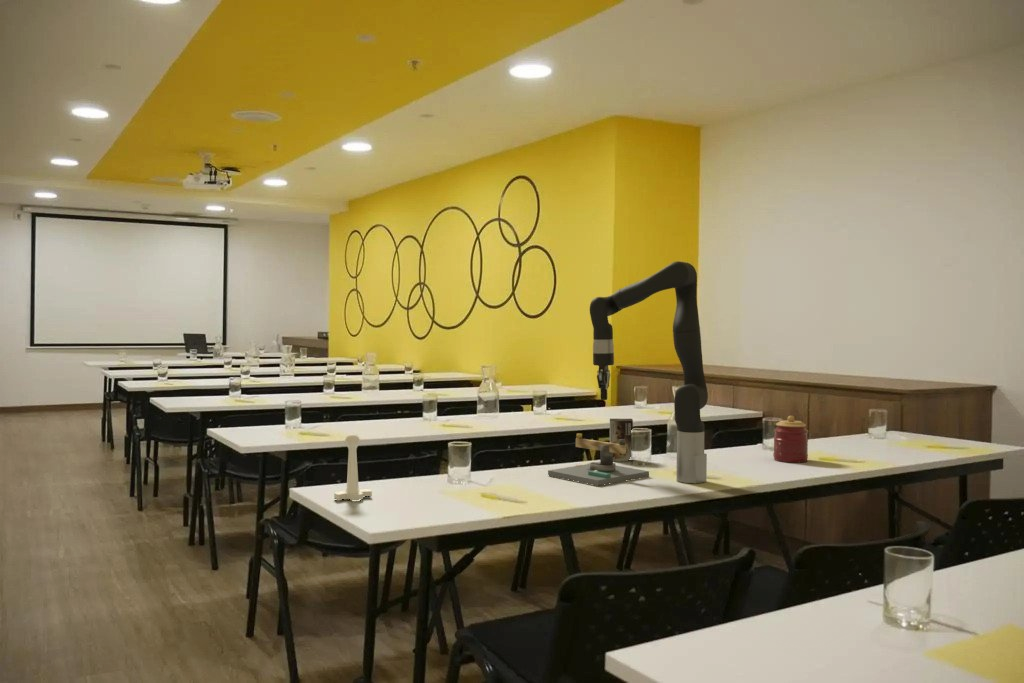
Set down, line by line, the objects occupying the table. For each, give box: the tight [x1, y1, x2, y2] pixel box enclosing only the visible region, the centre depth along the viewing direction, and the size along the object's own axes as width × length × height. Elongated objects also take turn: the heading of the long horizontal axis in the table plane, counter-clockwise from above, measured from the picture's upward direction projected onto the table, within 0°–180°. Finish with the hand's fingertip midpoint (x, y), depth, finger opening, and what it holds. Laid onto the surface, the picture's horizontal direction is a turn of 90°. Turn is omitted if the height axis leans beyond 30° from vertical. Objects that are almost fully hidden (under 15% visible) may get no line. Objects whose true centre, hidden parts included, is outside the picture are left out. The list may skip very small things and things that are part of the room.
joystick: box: [333, 433, 373, 501], centre depth 261 cm, size 11×8×20 cm
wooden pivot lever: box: [575, 432, 626, 472], centre depth 302 cm, size 22×9×12 cm, turn 43°
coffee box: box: [609, 418, 634, 462], centre depth 334 cm, size 9×6×16 cm
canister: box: [773, 415, 809, 464], centre depth 335 cm, size 13×13×18 cm
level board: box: [547, 463, 650, 486], centre depth 300 cm, size 24×26×4 cm
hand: (604, 399), depth 309 cm, fingers closed
